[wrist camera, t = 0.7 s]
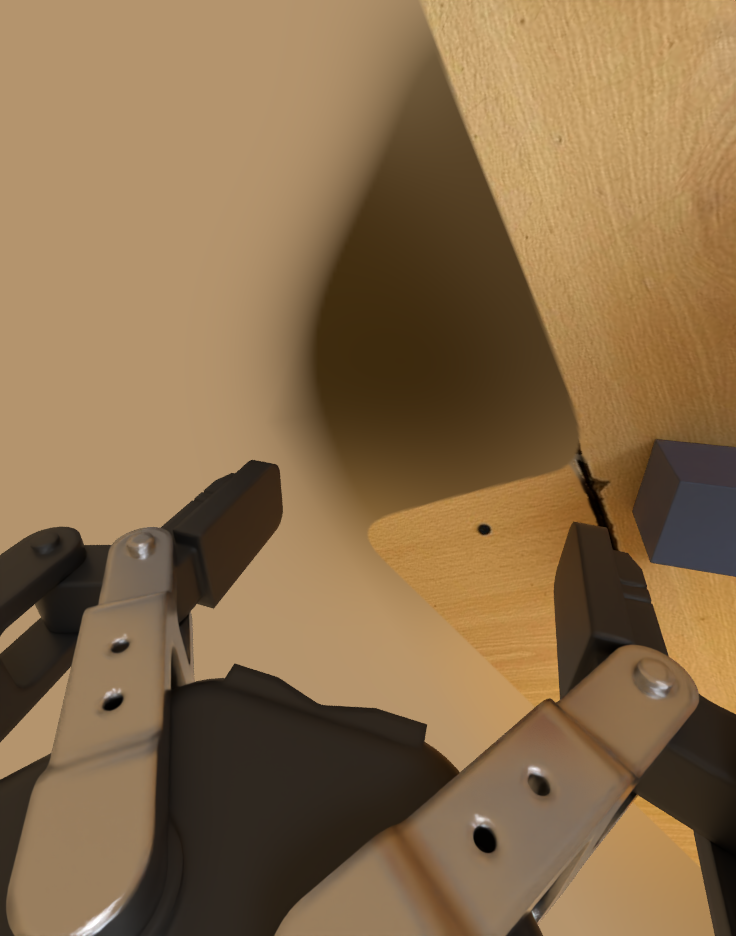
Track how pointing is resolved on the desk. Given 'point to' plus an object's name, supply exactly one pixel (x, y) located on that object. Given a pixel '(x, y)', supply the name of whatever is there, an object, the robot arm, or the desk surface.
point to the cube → (689, 506)
